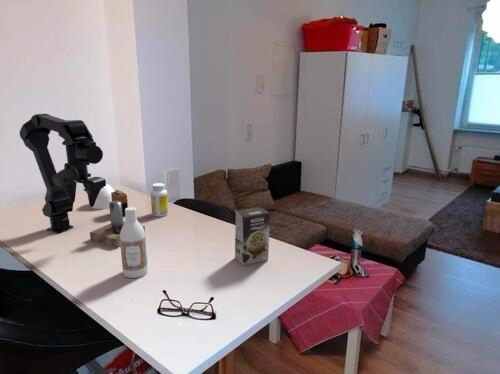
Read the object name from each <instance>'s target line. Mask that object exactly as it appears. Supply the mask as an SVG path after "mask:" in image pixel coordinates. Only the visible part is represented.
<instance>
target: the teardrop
mask: <svg viewBox="0 0 500 374" xmlns="http://www.w3.org/2000/svg"><path fill="white" fill-rule="evenodd" d="M112 192H115V190H114V189H113V187H112V186H111V185H110V184H108V183H106V186H104V188H101V190H100V192H99V194H98V196H97V199H96V201H95V204H94V206H93V207H90V208H91V209H94V210H105V209H107V210H108V209H110V207H109V202H111V201H112V197H111V193H112Z"/></svg>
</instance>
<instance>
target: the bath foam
mask: <svg viewBox="0 0 500 374" xmlns="http://www.w3.org/2000/svg"><path fill="white" fill-rule="evenodd" d="M124 217H125V221H124V222H125V224H124V225H123V227H122V229H121V232H120V246H121V247H120V254H121V266H122V273H123V276H124V277H126V278H129V279H137V278H141V277H143V276H145V275H146V274H147V273H148V255H147V252H148V251H147V242H146V241H147V240H146V239H147V238H146V237H147V236H146V230H145V231H144V229H143V227H142V226H143V225H142V224H141V223H140V222H139V220H138V219H137V218H138V217H137V207H135V206H128V208H126V209H125V216H124Z"/></svg>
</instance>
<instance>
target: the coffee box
mask: <svg viewBox="0 0 500 374" xmlns="http://www.w3.org/2000/svg"><path fill="white" fill-rule="evenodd" d="M270 218H271V212H269V211H268V210H266V209H264V208H263V207H261V206H260V207H251V208H245V209H241V210H235V234H234V235H235V236H234V237H235V239H234V240H235V241H234V258H235V259H236V260H237V262H239V263H240V264H241V265H242V267H243V266H244V267H245V266H249V265H252V264H256V263H261V262H266V261H269V248H270V245H269V244H270V222H271V219H270Z"/></svg>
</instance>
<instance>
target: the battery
mask: <svg viewBox="0 0 500 374" xmlns="http://www.w3.org/2000/svg"><path fill="white" fill-rule="evenodd" d="M114 191H115V192H112V193H111V197H112V201H121V204H122V216H123V217H126V216H125V209H126V208H128V207H129V203H128V195H127V194H126V193H125V192H123V191H122V190H120V189H116V190H114Z"/></svg>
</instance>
